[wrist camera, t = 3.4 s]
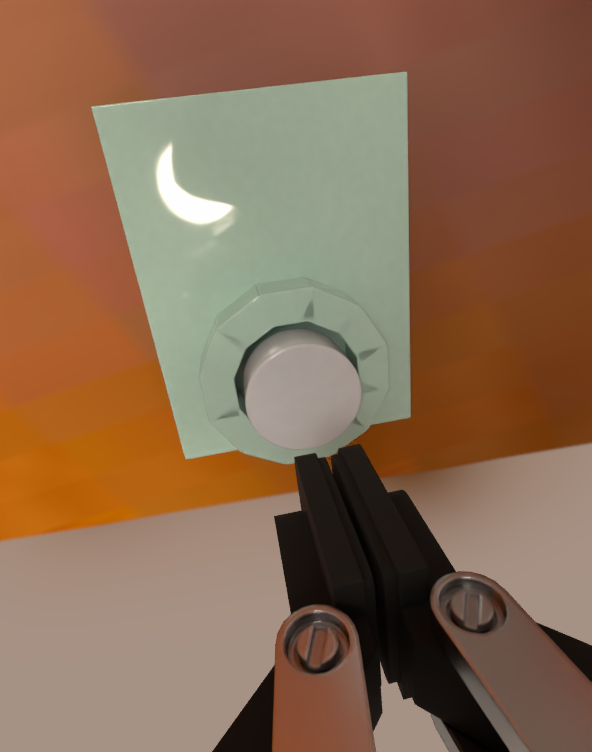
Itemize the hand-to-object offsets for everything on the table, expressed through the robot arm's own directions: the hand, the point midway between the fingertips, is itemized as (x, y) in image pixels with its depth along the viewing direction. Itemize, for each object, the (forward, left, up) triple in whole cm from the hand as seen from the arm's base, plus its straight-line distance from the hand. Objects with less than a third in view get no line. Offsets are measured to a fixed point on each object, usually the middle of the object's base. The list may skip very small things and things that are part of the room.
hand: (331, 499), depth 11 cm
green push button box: (-3, +2, -11) cm, 11 cm away
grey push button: (0, 0, -6) cm, 6 cm away
